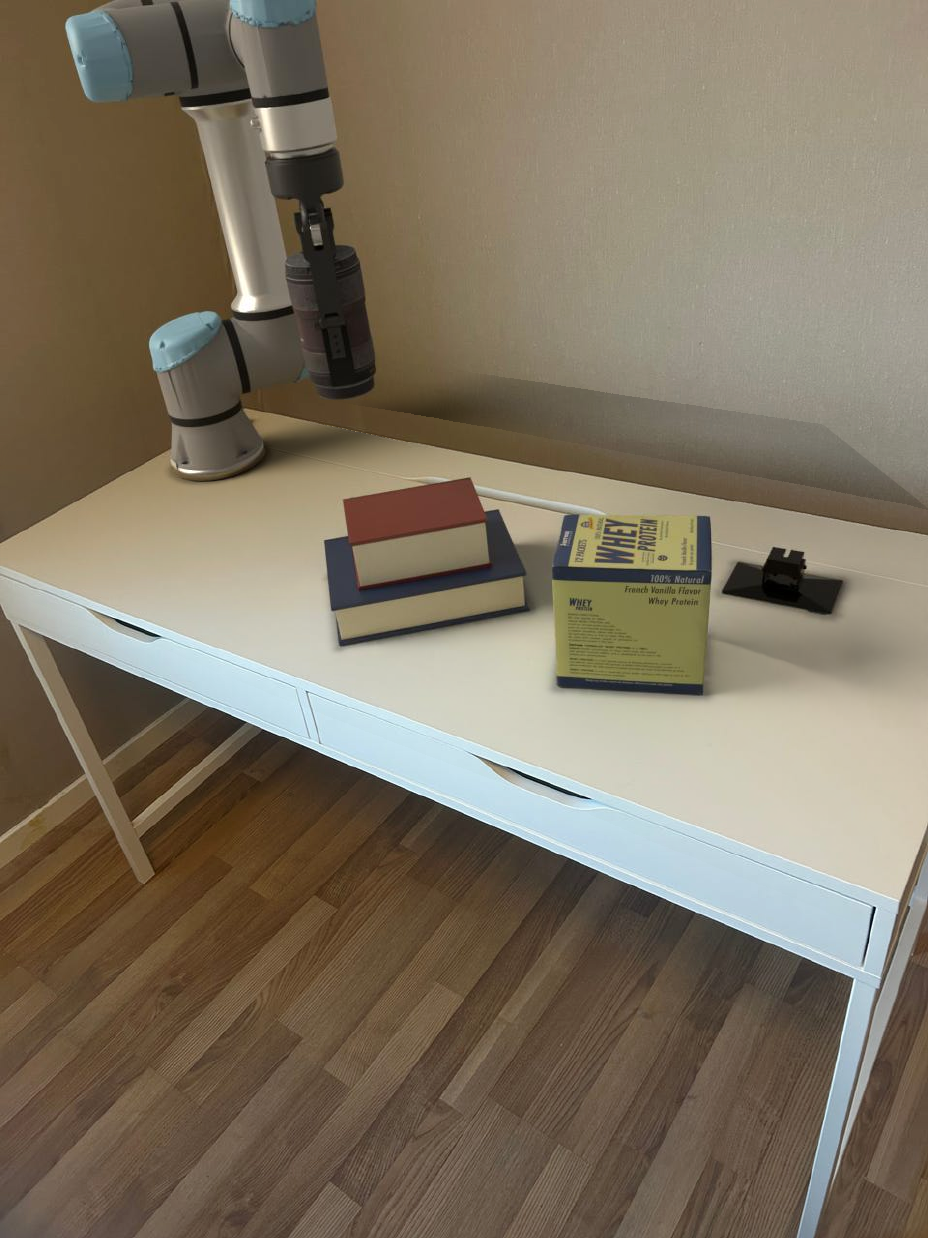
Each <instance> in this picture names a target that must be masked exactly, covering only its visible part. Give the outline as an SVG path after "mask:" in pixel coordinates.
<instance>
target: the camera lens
mask: <svg viewBox="0 0 928 1238" xmlns="http://www.w3.org/2000/svg"><path fill="white" fill-rule="evenodd" d="M335 246H336V252H337V255H336V257H335V258H334V259H333V260H334V266H335V271H336V277H337V282H338V288H339V293H340V299H341V304H342V310H343V315H344V316H345V318H346V326H347V331H348V337H349V342H350V348H351V354H352V359H353V365H354V370H355V376H356V381H357V383H356V384H350V385H344V386H338V387H332V382H331V377H330V372H329V367H328V362H327V357H326V352H325V347H324V342H323V337H322V332H321V329H320V330H315V327H314V324H315V323H319V320H320V316H319V310H318V305H317V300H316V295H315V290H314V285H313V279H312V274H311V269H310V264H309V262H307V261H306V260H305V259H304V256H303V251H302V250H301V251H298V252H295V253H293V254H291V255H289V256H287V259H286V260H285V277H286V281H287V286H288V291H289V295H290V300H291V304H292V307H293V310H294V313H295V314H296V319H297V323H298V328H299V333H300V338H301V342H302V349H303V354H304V359H305V364H306V367H307V370H308V372H309V376H310V378H309V379H310V382H311V383H312V384H314V387H315V391H316V395H318V396H319V397H320V398H322V399H325V400H329V401H342V400H350V399H355V398H359V397H362V396H364V395H367V394H368V393H370V392H371V391H372V390H373V389H374V388H375V383H376V382H375V377H374V376H375V374H376V371H377V365H376V353H375V352H376V351H375V347H374V346H375V345H374V341H373V336H372V331H371V328H370V321H369V317H368V311H367V306H366V305H367V304H366V300H367V299H366V289H365V284H364V277H363V271H362V267H361V262H360V258H359V257H358V255H357V251H356V249H355V248H354V247H353V246H351V245H347V244H335ZM329 314H335V313H329ZM329 314H326V315H329Z"/></svg>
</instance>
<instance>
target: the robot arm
mask: <svg viewBox="0 0 928 1238" xmlns="http://www.w3.org/2000/svg"><path fill="white" fill-rule="evenodd" d="M317 8H318V7H317V1H316V0H112V1H110V2H107V3H105V4H102V5H100V6H97V7H96V8H94V9H91V10H90V11H89V12H87V13H81V14H78V15H71V16H70V17H69V18H67V19H66V22H65V32H66V38H67V40H68V43H69V47H70V50H71V54H72V57H73V62H74V65H75V67H76V70H77V74H78V77H79V80H80V85H81V86H82V89H83V92H84V95H85V96H86V98H87V99H88V100H89V101H91V102H93V103H97V104H99V103H107V102H108V103H109V102H110V103H111V102H115V103H121V102H126V101H128V100H134V99H153V98H162V97H171V96H178V100H179V104H180V108H181V110H182V111H183V112H184V113H185V114H187V115H188V116H189V117H190V118H192V119H193V120H194V122H195V123H196V127H197V131H198V136H199V139H200V143H201V147H202V148H201V149H202V152H203V155H204V160H205V164H206V168H207V172H208V177H209V180H210V184H211V188H212V189H211V190H212V193H213V196H214V200H215V201H214V202H215V205H216V210H217V213H218V218H219V221H220V225H221V231H222V233H223V237H224V242H225V246H226V249H227V254H228V258H229V262H230V267H231V270H232V274H233V278H234V283H235V287H236V290H237V293H236V296H235V297H234V299H233V301H232V302H231V304H230V308H231V313H232V317H229V318H227V319H222V317H221V316H219V314H218V313H217V312H215V311H212V310H211V311H210V310H205V311H202V312H200V311H196V312H193V313H188V314H185V315H183V316H180V317H179V316H178V317H177V318H175V319H173V320H170V321H168V322H167V323H165V324H163V325H161V326H160V327H159V328H157V329H156V330H155V331H154V332H153V333H152V335H151V336H150V338H149V342H148V347H149V352H150V356H151V361H152V369H153V371H154V372H156V376H157V379H158V383H159V386H160V390H161V393H162V396H163V399H164V400H163V401H164V403H165V407H166V410H167V414H168V416H169V419H170V422H171V449H170V450H171V453H170V457H169V459H170V465H171V466H172V469H173V472H174V473H175V475H177V476H178V477H180V478H182V479H184V480H188V481H195V482H196V481H197V482H207V481H216V480H221V479H222V480H223V479H225V478H229V477H232V476H236V475H239V474H241V473H244V472H246V471H248V470H250V469H252V468H254V467H255V466H256V465H257V464H259V463H260V462H261V460H263V458H264V456H265V454H266V449H265V445H264V442H263V441H264V440H263V439H262V437H261V435H260V434H259V432H258V431H257V429H256V427H255V426H254V425H253V423H252V421H251V420H250V418H249V416H248V415H247V413H246V412H245V410H244V408H243V404H242V401H241V395H245V394H250V393H253V392H258V391H261V390H266V389H271V388H275V387H279V386H283V385H286V384H287V385H288V384H291V383H292V384H297V383H299V382H301V381H303V380H306V379H310V376H309V372H308V370H307V367H306V364H305V359H304V354H303V349H302V342H301V338H300V333H299V328H298V323H297V319H296V314H295V313H294V310H293V307H292V304H291V300H290V295H289V291H288V286H287V281H286V277H285V260H286V259H287V258H288V256H287V251H286V246H285V242H284V238H283V232H282V228H281V223H280V219H279V214H278V213H279V212H278V210H277V204H276V199H278V200H284V201H290V200H297V201H298V210H299V211H296V212H293V221H294V226H295V231H296V234H297V236H299V240H300V245H301V251H303V256H304V259H305V260H306V261H307V262H309V264H310V269H311V274H312V279H313V285H314V290H315V295H316V300H317V305H318V310H319V316H320V320H319V323H315V324H314V327H315V330H320V329H321V332H322V337H323V342H324V347H325V352H326V357H327V362H328V367H329V372H330V377H331V382H332V387H338V386H344V385H350V384H356V383H357V381H356V376H355V370H354V365H353V359H352V354H351V348H350V342H349V337H348V331H347V326H346V318H345V316H344V315H343V310H342V304H341V299H340V293H339V288H338V282H337V277H336V271H335V266H334V260H333V259H334V258H335V257H336V255H337V252H336V246H335V245H336V241H335V236H334V231H335V222H334V217H333V212H332V207H330V206H329V207H325V204H324V201H323V200H322V197H323V196H324V195H330V194H334V193H335V192H339V191H340V190H341V189H342V188H343V187H344V185H345V179H344V173H343V168H342V161H341V154H340V150H338V149H337V147H334V146H333V144H335V143H336V141H337V140H338V133H337V127H336V121H335V115H334V109H333V104H332V98H331V95H330V91H329V85H328V78H327V72H326V67H325V66H326V65H325V60H324V55H323V48H322V42H321V35H320V29H319V24H318V17H317V16H318V15H317ZM266 153H268V154H269V156H266ZM329 313H335V314H329ZM326 314H329V315H326Z"/></svg>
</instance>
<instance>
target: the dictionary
mask: <svg viewBox="0 0 928 1238" xmlns="http://www.w3.org/2000/svg"><path fill="white" fill-rule="evenodd" d="M342 501H343V502H342V505H343V510H344V517H345V525H346V531H347V536H348V539H349V545H350V547H352V549H353V556H354V563H355V570H356V576H357V583H358V589H359V590H365V589H370V588H376V587H381V586H387V585H392V584H398V583H403V582H409V581H414V580H420V579H425V578H431V577H436V576H442V575H447V574H452V573H458V572H463V571H469V570H474V569H480V568H485V567H491V566H492V562H491V559H490V557H489V554H488V544H487V535H486V525H485V523H486V522H488V519H487V517H486V514H485V510H484V507H483V505H482V502H481V500H480V497H479V495H478V492H477V490H476V488H475V485H474V483H473V480H472V477H470V476H469V477H464V478H463V477H462V478H457V479H451V480H447V481H441V482H434V483H428V484H423V485H418V486H412V487H411V486H410V487H407V488H401V489H394V490H389V491H383V492H378V493H372V494H371V493H370V494H365V495H360V496H355V497H349V498H343V499H342Z"/></svg>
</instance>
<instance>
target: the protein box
mask: <svg viewBox="0 0 928 1238" xmlns="http://www.w3.org/2000/svg"><path fill="white" fill-rule="evenodd" d="M712 543H713V542H712V521H711V516H709V515H625V514H624V515H623V514H622V515H621V514H618V515H617V514H564V516H563V518H562V523H561V527H560V534H559V538H558V541H557V544H556V549H555V553H554V555H553V558H552V563H551V584H552V587H551V588H552V606H553V608H552V609H553V627H554V645H555V647H554V648H555V667H556V668H555V669H556V671H555V672H556V673H555V674H556V675H555V676H556V677H555V679H556V686H557V687H561V688H573V689H574V688H575V689H577V688H578V689H593V690H610V691H628V692H643V693H646V692H647V693H659V694H677V695H691V696H692V695H693V696H694V695H695V696H702V695H703V693H704V684H705V673H706V672H705V671H706V660H707V659H706V658H707V657H706V656H707V645H708V644H707V643H708V631H709V618H710V606H711V605H710V603H711V592H712V591H711V590H712V577H713V549H712V548H713V547H712V545H713V544H712Z"/></svg>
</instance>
